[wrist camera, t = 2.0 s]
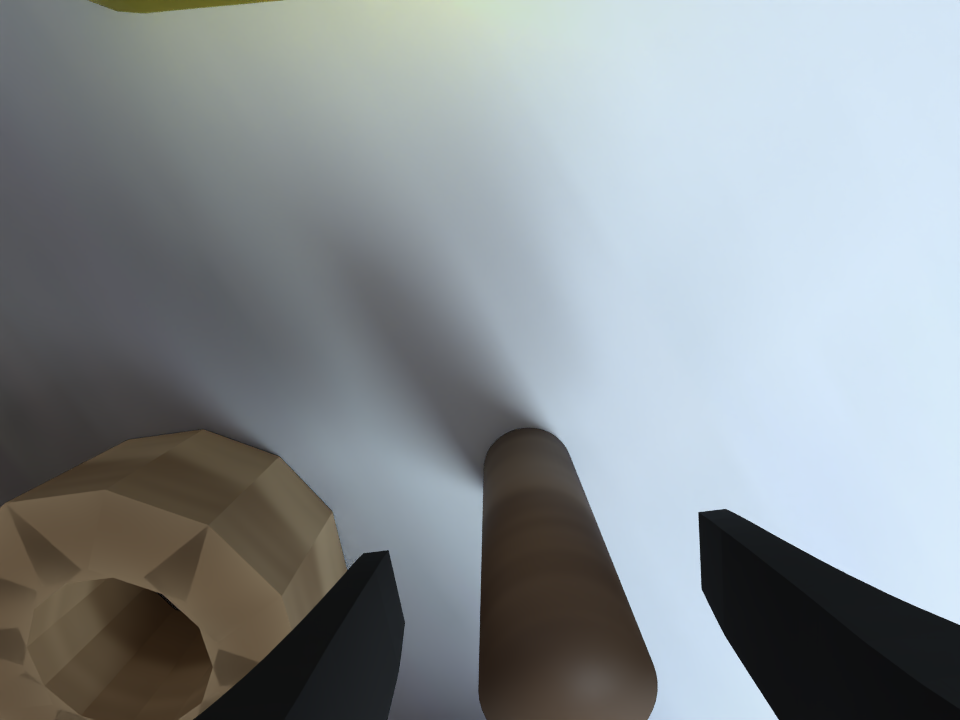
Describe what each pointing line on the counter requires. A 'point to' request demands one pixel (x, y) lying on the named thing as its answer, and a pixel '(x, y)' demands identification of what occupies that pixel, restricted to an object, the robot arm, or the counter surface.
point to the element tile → (167, 4)
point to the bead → (155, 578)
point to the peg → (552, 596)
